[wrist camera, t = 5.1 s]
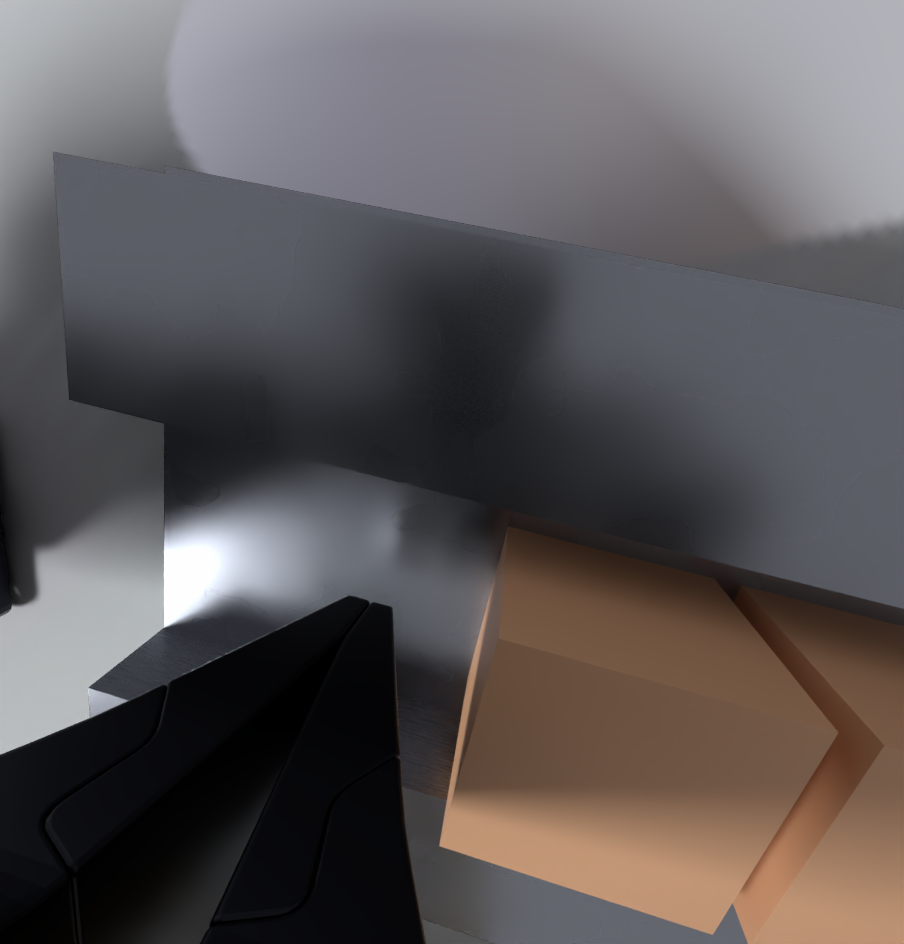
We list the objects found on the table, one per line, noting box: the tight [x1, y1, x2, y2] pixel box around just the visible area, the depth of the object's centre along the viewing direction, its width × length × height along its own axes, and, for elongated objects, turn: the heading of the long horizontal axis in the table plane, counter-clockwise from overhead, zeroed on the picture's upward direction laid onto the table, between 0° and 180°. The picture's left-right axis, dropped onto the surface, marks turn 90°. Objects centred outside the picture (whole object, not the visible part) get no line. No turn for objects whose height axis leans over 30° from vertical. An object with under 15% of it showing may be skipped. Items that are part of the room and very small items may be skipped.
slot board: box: [53, 152, 904, 944], centre depth 9 cm, size 16×14×3 cm
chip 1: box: [439, 526, 838, 935], centre depth 7 cm, size 4×4×4 cm
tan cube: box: [733, 585, 904, 944], centre depth 7 cm, size 4×4×4 cm
